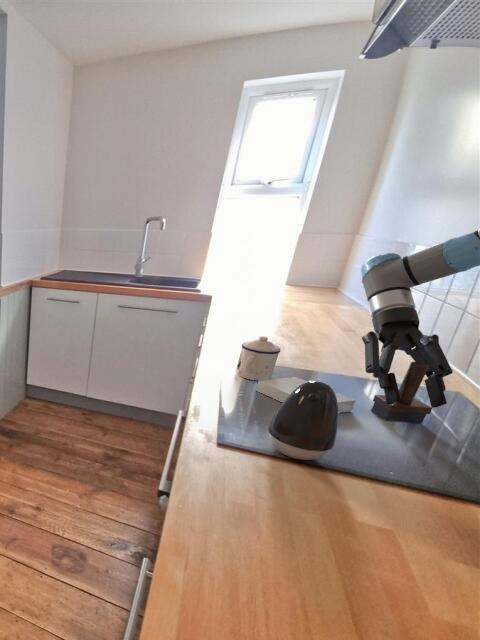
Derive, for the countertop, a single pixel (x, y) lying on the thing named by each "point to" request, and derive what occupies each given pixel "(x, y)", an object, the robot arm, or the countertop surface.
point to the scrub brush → (405, 399)
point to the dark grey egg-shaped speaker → (306, 422)
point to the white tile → (285, 386)
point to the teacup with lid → (257, 359)
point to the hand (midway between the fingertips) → (416, 403)
